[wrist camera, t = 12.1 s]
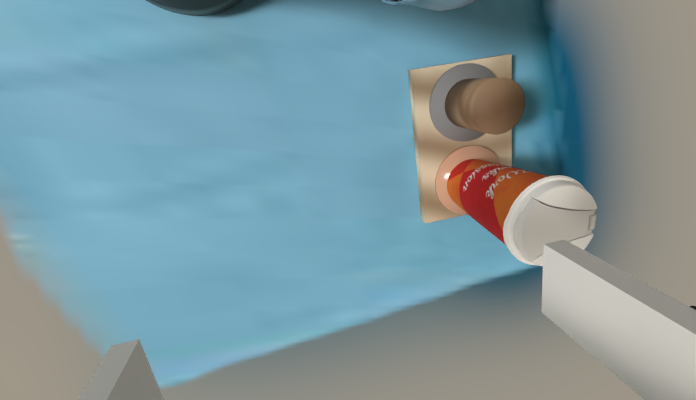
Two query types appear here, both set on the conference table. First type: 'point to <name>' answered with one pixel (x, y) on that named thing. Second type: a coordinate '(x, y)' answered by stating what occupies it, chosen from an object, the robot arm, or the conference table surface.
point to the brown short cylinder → (485, 104)
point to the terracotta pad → (451, 163)
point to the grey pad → (440, 95)
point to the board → (438, 147)
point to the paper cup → (523, 206)
